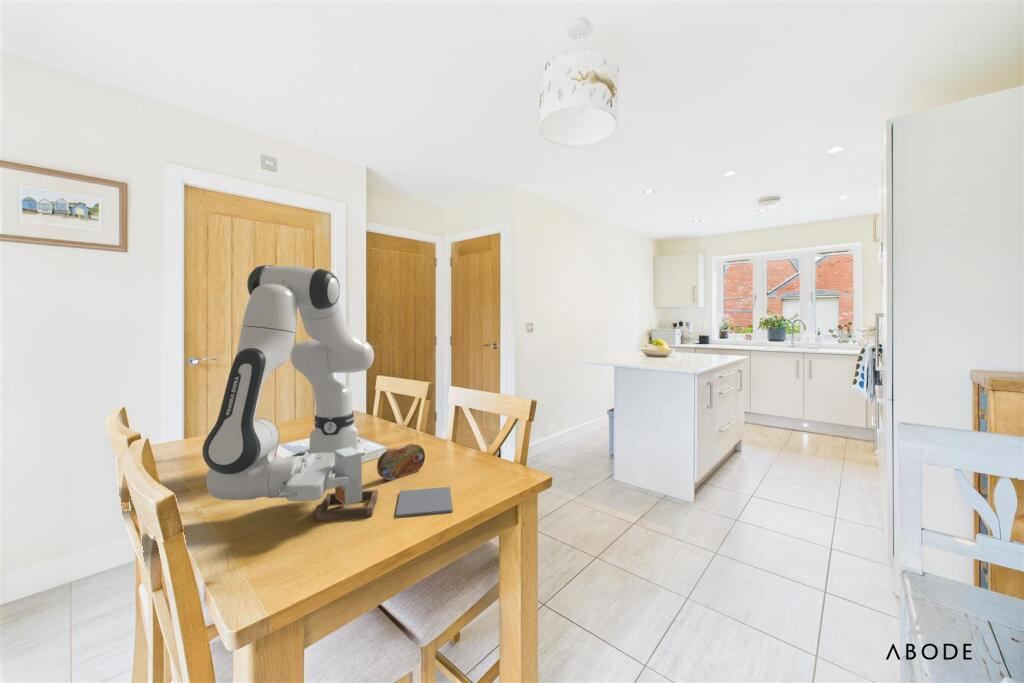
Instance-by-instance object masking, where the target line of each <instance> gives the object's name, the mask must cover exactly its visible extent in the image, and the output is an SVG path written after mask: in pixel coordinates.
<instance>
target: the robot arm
mask: <svg viewBox="0 0 1024 683" xmlns="http://www.w3.org/2000/svg"><path fill="white" fill-rule="evenodd" d="M246 281H247V287H246V288H247V291H248V294H249V296H250V297H249V299H248V302H247V305H246V307H245V311H244V315H243V320H242V325H241V331H240V337H239V341H238V346H237V350H236V354H235V356H234V359H233V361H232V362H233V363H232V365H231V368H230V371H229V375H228V378H227V382H226V386H225V390H224V395H223V397H222V403H221V406H220V408H219V409H220V410H219V414H218V417H217V420H216V422H215V424H214V426H213V428H211V430H210V432H209V433H208V434H207V437H206V438H205V440H204V442H203V445H202V452H201V453H202V457H203V461H204V462H205V463H206V465H207V467H209V469H208V471H207V474H206V476H205V477H206V479H205V485H206V489H207V492H208V494H210V496H211V497H212V498H215V499H218V500H222V501H250V500H256V499H260V498H268V499H277V498H278V499H279V498H280V499H283V498H285V499H286V500H287V501H290V502H313V501H317V500H320V499H321V498H322V497H323V495H324V494H325V491H326V490H331V489H335V487H338V486H343V485H347V484H348V483H349V476H348V475H346V476H341V477H337V478H335V450H339V449H343V448H348V447H352V448H354V449H356V450H358V443H360V439H361V438H359V437H358V436H359V434H358V433H359V432H358V429H357V426H356V424H355V414H354V410H353V393H352V389H351V388H350V387H349V386H347V384H345V383H342V382H340V381H339V380H337V378H336V377H335V375H334V374H338V373H343V374H345V373H347V374H348V373H350V374H351V373H352V374H353V373H358V372H362V371H368V370H369V369H370V368H371V366H372V365H373V363H374V360H375V352H374V351H375V350H374V348H373V347H372V345H371V344H370V342H368V341H365V340H363V339H362V338H359V337H358V336H357V335H356V334H354V333H353V332H352V331H351V330H350V329H349V327H348V326H347V324H346V323H345V320H344V318H343V313H342V311H341V308H340V304H339V298H340V294H341V291H340V290H341V289H340V288H341V287H340V281H339V280H338V277H336V275H335V274H334V273H333V272H331V271H328V270H326V269H322V268H318V269H316V268H314V267H313V268H312V267H305V266H300V265H299V266H298V265H293V266H291V265H290V266H289V265H273V264H272V265H271V264H268V265H267V264H265V265H259V266H256V267H255V268H254V269H253V270H252V271H251V272H250V273H249V275H248V278H247V280H246ZM298 313H299V315H300V318H301V321H302V325H303V327H304V330H305V333H306V334H307V335H308V336H309V337H310V338H311V339H309V340H303V341H300V342H297V343H295V340H296V332H297V325H298ZM289 359H290V362H291V364H292V367H293V368H294V369H295V371H298V373H301V374H302V375H303V376H304V377H305V378H306V379H307V380H308V382H309V383H310V386H311V387H312V390H313V394H314V402H315V403H314V405H315V415H314V419H313V422H314V429H313V430H311V432H310V433H309V446H308V447H309V448H308V450H309V451H299V452H297V453H295V454H293V455H290V456H286V457H276V456H277V455H276V454H277V451H278V447H279V442H280V432H279V429H278V427H277V426H276V424H275V423H274V422H272V421H270V420H269V419H267V418H256V417H257V416H256V414H257V410H258V405H259V402H260V398H261V393H262V388H263V387H264V383H265V382H266V380H267V378H269V376H270V375H271V374H272V373H273V372H274V371H275V370H277V369H278V368H279V367H280V366H281V367H282V365H284V364H285V363H286V362H288V360H289ZM308 452H309V455H308Z"/></svg>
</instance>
